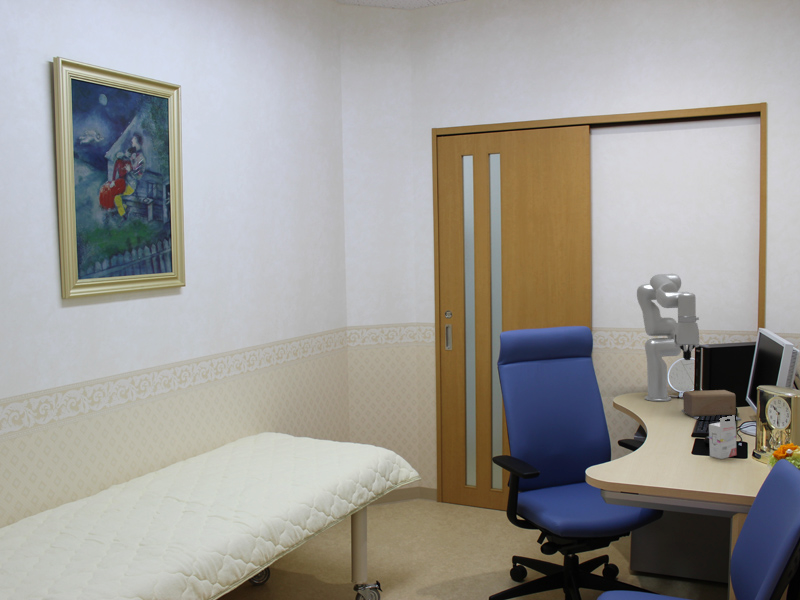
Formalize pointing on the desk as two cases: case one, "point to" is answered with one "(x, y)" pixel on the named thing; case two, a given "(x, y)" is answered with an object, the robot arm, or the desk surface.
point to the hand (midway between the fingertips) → (687, 359)
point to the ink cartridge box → (723, 438)
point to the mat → (698, 416)
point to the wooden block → (709, 403)
